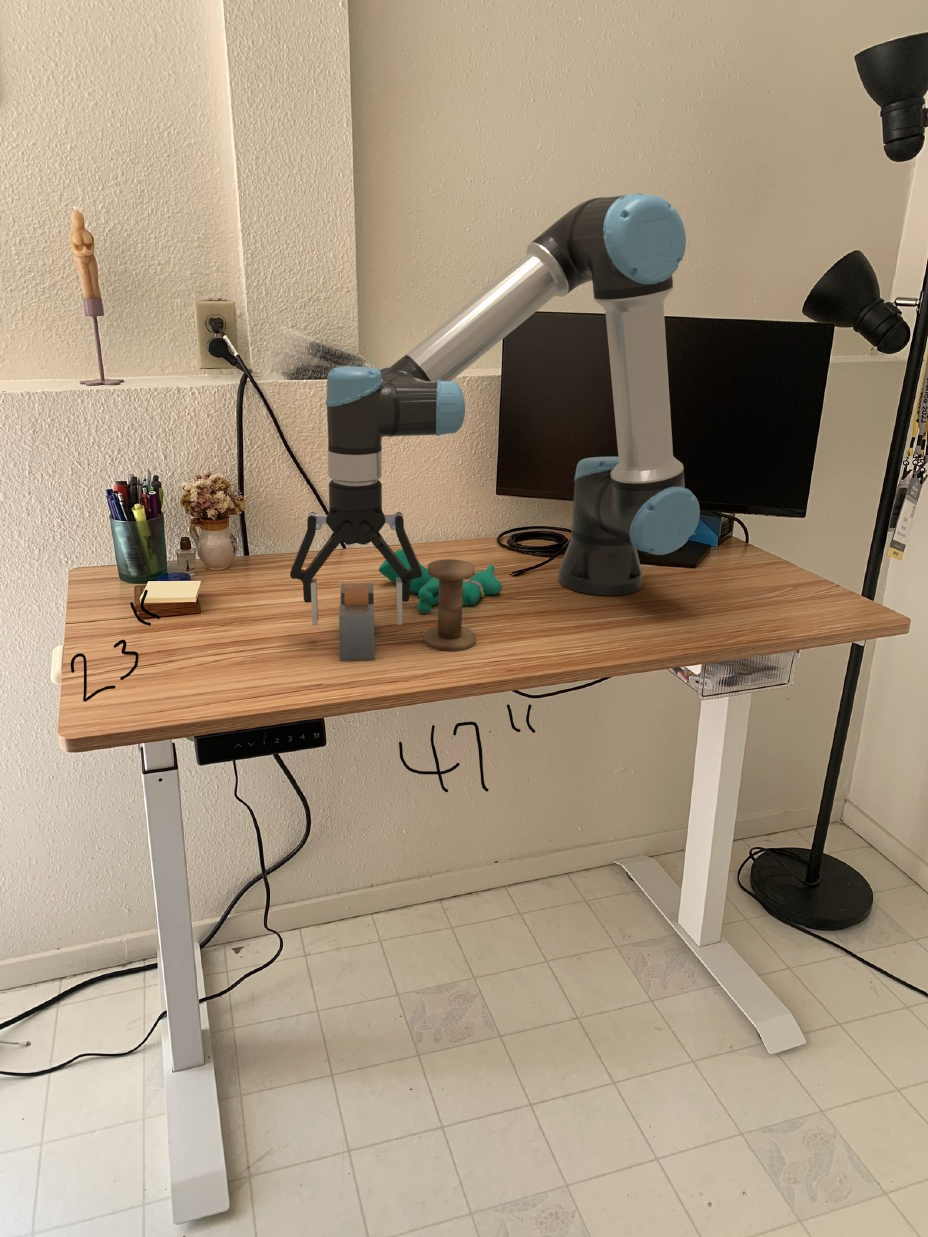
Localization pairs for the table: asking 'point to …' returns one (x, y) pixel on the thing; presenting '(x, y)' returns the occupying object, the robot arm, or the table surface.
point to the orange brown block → (356, 594)
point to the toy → (429, 585)
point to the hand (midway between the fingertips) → (357, 621)
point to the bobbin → (450, 606)
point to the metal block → (357, 628)
